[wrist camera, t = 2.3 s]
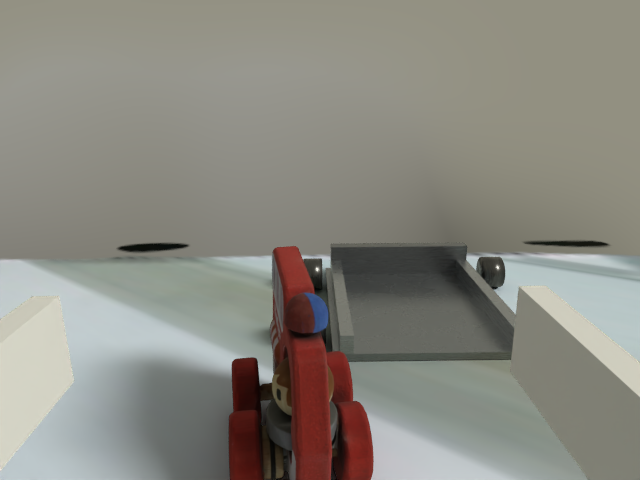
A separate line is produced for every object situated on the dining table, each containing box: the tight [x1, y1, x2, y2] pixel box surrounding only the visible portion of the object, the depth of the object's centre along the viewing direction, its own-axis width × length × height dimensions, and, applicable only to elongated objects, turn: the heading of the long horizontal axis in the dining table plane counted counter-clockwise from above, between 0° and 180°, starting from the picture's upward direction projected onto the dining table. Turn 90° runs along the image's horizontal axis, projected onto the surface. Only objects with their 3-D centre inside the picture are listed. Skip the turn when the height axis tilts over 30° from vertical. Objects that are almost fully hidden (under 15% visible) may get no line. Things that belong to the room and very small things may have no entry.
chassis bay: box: [304, 243, 516, 361], centre depth 44 cm, size 20×18×4 cm
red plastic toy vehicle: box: [229, 246, 373, 480], centre depth 26 cm, size 7×12×10 cm, turn 8°
